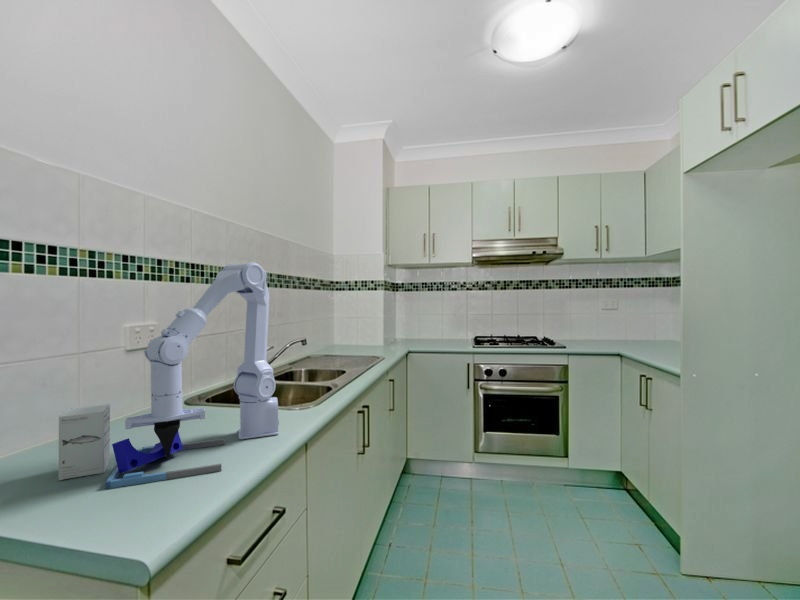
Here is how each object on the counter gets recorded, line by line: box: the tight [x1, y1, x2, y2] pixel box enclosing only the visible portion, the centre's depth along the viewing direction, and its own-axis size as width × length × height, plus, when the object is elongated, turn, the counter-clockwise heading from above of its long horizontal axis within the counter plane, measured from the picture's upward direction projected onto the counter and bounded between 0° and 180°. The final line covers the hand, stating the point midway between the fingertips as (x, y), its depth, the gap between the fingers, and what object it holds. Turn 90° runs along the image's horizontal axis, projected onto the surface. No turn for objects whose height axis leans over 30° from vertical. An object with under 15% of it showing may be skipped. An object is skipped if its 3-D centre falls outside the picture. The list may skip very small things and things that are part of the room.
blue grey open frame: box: [104, 438, 225, 490], centre depth 84 cm, size 20×17×2 cm
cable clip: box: [111, 430, 183, 475], centre depth 84 cm, size 12×4×6 cm, turn 158°
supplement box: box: [58, 403, 111, 481], centre depth 81 cm, size 7×7×13 cm
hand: (167, 457), depth 84 cm, fingers closed, pressing on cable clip
